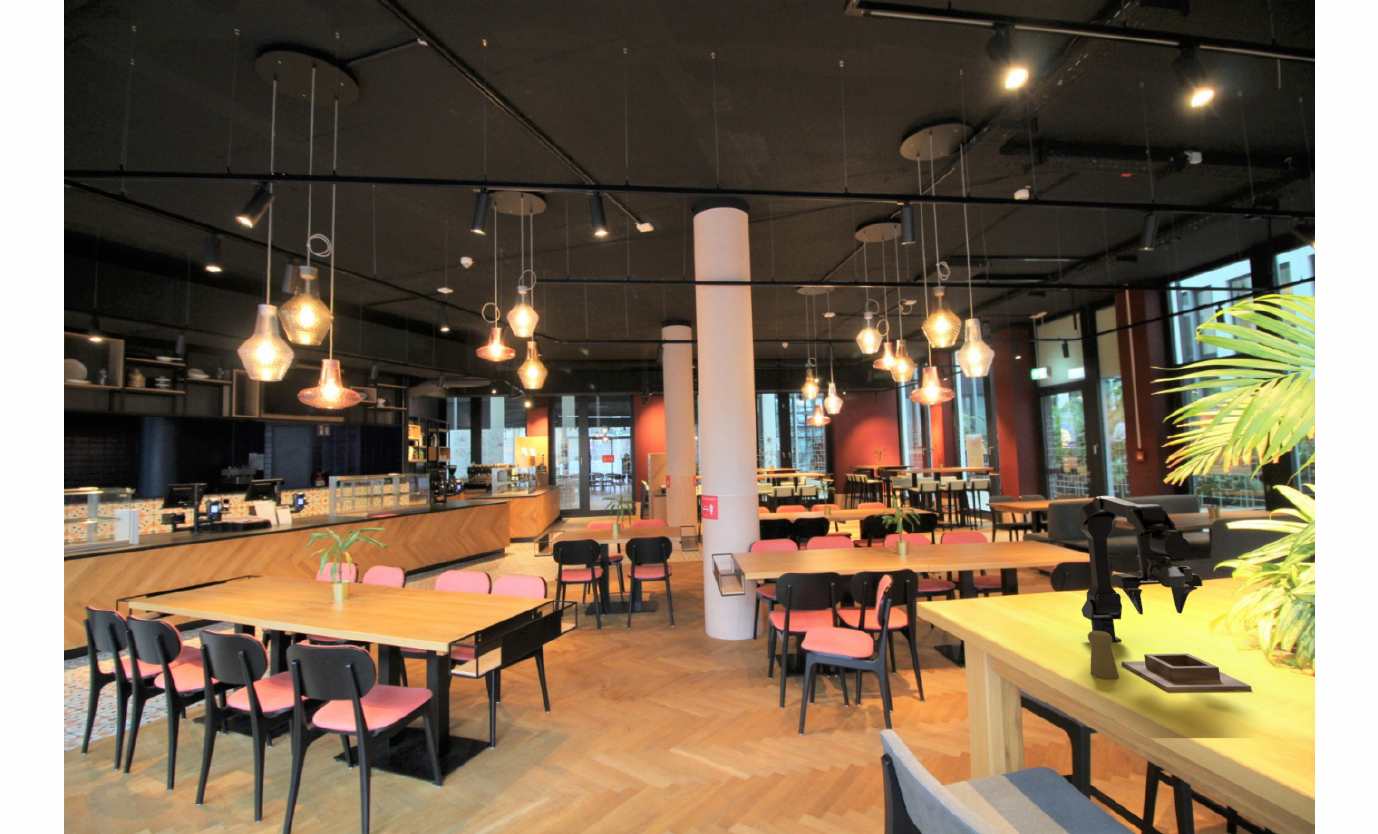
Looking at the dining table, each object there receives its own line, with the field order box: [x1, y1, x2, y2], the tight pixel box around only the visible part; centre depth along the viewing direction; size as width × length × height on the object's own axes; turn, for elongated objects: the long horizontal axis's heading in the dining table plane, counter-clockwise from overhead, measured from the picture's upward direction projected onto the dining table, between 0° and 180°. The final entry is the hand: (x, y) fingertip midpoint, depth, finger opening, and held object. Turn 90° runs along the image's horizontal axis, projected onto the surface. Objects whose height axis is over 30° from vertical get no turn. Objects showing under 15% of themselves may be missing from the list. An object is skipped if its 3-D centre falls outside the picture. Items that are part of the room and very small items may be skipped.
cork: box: [1087, 631, 1120, 681], centre depth 150 cm, size 6×6×11 cm
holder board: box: [1120, 653, 1253, 692], centre depth 145 cm, size 18×18×4 cm
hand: (1160, 613), depth 150 cm, fingers open, 9 cm apart
